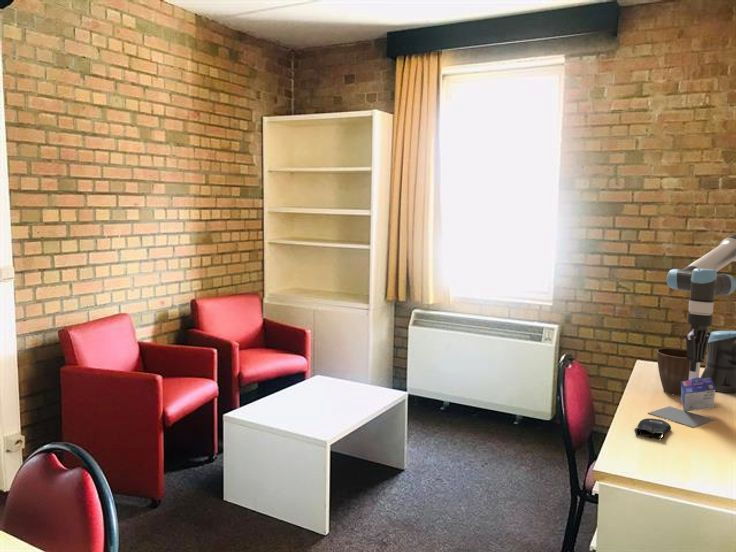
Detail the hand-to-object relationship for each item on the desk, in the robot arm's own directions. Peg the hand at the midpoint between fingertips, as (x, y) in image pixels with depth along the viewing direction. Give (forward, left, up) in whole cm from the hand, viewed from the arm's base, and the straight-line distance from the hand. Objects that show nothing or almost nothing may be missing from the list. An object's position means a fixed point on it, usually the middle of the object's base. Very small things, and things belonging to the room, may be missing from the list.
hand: (693, 380), depth 222 cm
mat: (+6, 0, -12) cm, 14 cm away
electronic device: (+28, +2, -13) cm, 31 cm away
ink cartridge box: (-4, 0, -9) cm, 10 cm away
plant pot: (-20, -17, -13) cm, 29 cm away
